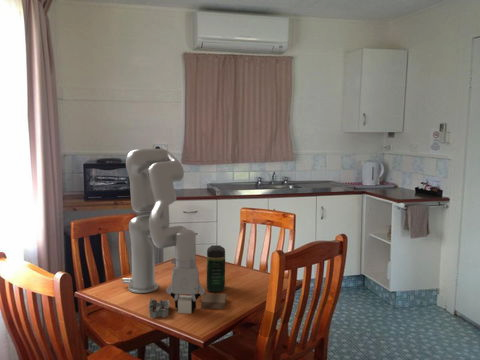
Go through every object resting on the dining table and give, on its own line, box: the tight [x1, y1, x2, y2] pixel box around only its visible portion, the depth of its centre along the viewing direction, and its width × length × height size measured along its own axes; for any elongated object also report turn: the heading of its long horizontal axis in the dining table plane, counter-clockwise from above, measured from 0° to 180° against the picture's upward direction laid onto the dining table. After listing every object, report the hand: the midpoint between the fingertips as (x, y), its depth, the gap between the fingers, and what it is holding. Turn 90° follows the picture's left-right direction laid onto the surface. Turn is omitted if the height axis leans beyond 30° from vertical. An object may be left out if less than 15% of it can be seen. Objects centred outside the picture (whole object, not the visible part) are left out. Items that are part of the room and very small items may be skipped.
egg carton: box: [148, 297, 170, 319], centre depth 166 cm, size 11×8×4 cm
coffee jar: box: [206, 244, 226, 293], centre depth 191 cm, size 10×8×19 cm
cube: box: [177, 294, 192, 315], centre depth 168 cm, size 5×5×5 cm
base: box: [200, 293, 227, 310], centre depth 175 cm, size 9×9×3 cm
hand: (185, 309), depth 168 cm, fingers closed on cube, 5 cm apart
